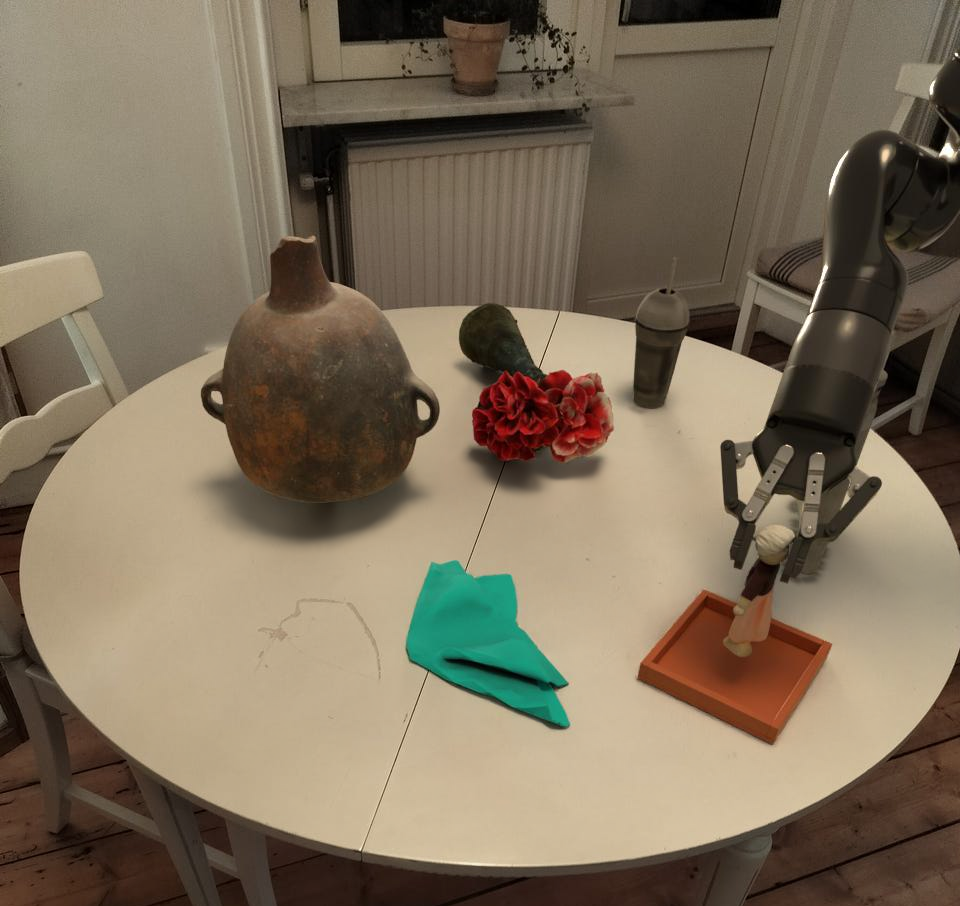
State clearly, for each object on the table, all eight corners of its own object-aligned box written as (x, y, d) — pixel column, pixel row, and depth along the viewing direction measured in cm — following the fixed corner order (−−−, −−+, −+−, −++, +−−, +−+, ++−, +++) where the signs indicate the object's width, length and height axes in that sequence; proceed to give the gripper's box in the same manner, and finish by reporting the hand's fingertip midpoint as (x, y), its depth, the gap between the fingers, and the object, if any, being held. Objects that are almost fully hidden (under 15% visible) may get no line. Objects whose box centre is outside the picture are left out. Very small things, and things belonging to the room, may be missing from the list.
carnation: (478, 411, 134) (577, 525, 109) (386, 348, 123) (474, 459, 98) (541, 326, 129) (660, 425, 104) (452, 252, 118) (562, 343, 93)
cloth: (382, 573, 93) (380, 556, 91) (503, 553, 96) (504, 536, 94) (440, 755, 74) (439, 738, 73) (588, 724, 77) (591, 707, 76)
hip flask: (797, 494, 105) (848, 335, 91) (831, 500, 104) (888, 341, 91) (786, 570, 94) (843, 403, 80) (825, 578, 93) (888, 410, 79)
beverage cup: (668, 388, 125) (694, 244, 111) (680, 412, 119) (708, 265, 106) (618, 388, 124) (638, 244, 111) (628, 413, 119) (650, 265, 105)
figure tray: (826, 659, 84) (832, 643, 83) (772, 744, 76) (778, 729, 75) (699, 603, 90) (703, 588, 88) (636, 678, 82) (640, 662, 80)
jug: (397, 429, 115) (384, 184, 94) (456, 516, 101) (456, 249, 80) (212, 464, 108) (155, 208, 87) (247, 563, 93) (188, 284, 73)
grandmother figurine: (756, 670, 77) (795, 559, 68) (714, 656, 78) (747, 545, 69) (772, 618, 82) (811, 508, 73) (733, 606, 83) (766, 497, 74)
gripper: (745, 344, 71) (676, 543, 71) (926, 383, 66) (851, 593, 67) (745, 378, 78) (683, 558, 78) (909, 414, 74) (841, 605, 74)
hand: (761, 573), depth 73 cm, fingers closed on grandmother figurine, 3 cm apart
